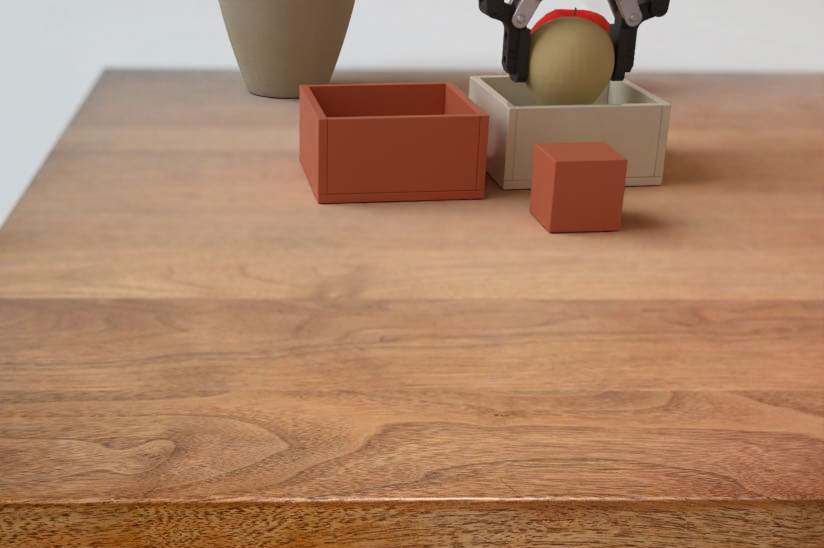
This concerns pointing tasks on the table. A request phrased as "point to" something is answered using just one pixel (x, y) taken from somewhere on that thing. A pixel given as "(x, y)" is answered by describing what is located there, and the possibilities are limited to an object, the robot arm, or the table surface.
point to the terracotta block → (577, 186)
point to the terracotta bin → (392, 142)
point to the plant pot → (286, 42)
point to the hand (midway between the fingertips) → (566, 79)
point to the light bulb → (569, 62)
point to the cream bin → (571, 128)
